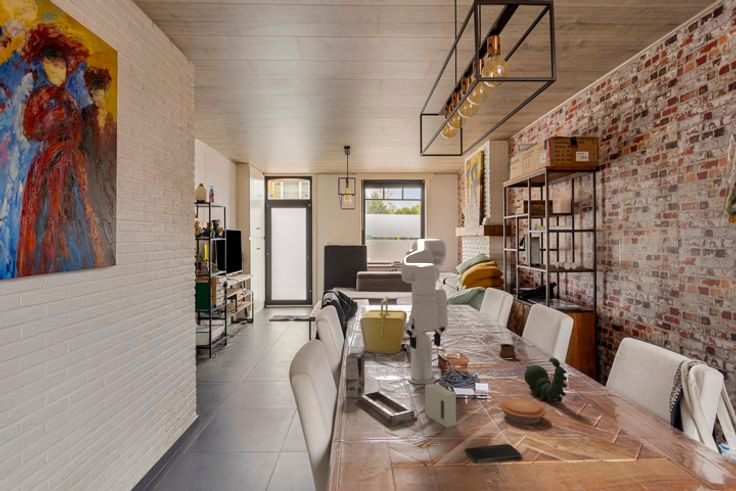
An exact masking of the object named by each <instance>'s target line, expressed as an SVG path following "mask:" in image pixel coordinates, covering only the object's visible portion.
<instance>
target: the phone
mask: <svg viewBox="0 0 736 491" xmlns="http://www.w3.org/2000/svg"><path fill="white" fill-rule="evenodd" d="M464 453H465V455H466V456H468V458H469V459H470V460H471V461H472V462H473V463H474V464H489V463H497V462H498V463H500V462H507V461H508V462H509V461H515V460H517V461H518V460H522V459H523V454H522V453H521V452H519V450H517V449H516V448H515V447H514V446H513V445H511V444H509V443H504V444H502V443H501V444H495V445H494V444H493V445H483V446H473V447H466V448H464Z"/></svg>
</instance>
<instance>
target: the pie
mask: <svg viewBox="0 0 736 491" xmlns="http://www.w3.org/2000/svg"><path fill="white" fill-rule="evenodd" d="M499 404H500V405H499V407H500V409H501V411H502V412H503V414H504V415H505V417H506V418H507V419H508V420H509V421H511V422H513V423H517V424H522V425H534V424H538V423H539V422H540V421H541V419H542V417H543V416H545V415H546V414H547V409H546V408H545V407H544V406H543V405H541V404H539V403H537V402H536V401H533V400H530V399H529V400H528V399H524V398H523V399H522V398H511V399H507V400H505V401H502V402H501V403H499Z"/></svg>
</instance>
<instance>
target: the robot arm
mask: <svg viewBox="0 0 736 491" xmlns="http://www.w3.org/2000/svg"><path fill="white" fill-rule="evenodd" d="M412 243H413V244H412V246H411V249H409V250H408V251H406V253H405V257H404V258H403V259H402V263H401V269H400V270H401V271H400V272H401V278H402V281H403V282H405V283H406V284H411V302H412V305H411V310H410V314H409V315H408V321H406V323H405V324H404V325H403V327H404V329H405V331H404V333H406V334H407V335H408V336H409V346H410V374H409V375H408V376H407V381H408V382H409V383H412V384H415V385H428V384H432V383H434V384H435V382H436V377H435V375H440V374H441V370H440V369H434V368H433V345H434V346H436V347H440V346H441V341H442V340H441V338H442V336H441V335H443V333H445V332H446V331H447V330H448V325H449V324H448V323H449V319H448V316H449V315H448V314H449V313H448V296H447V292H446V290H445V289H444V288H442V287H437V285H436V283H437V281H438V280H439V279H440V275H441V274H440V273H441V272H440V268H441V267H443V266H444V263H445V260H446V255H447V247H446V246H447V245H446V243H445V241H443V239H441V238H440V239H439V238H422V239H421V238H420V239H417V240H415V241H414V242H412ZM427 333H434V334H433V342H432V339H431V338H430V336H429V335H428V334H427Z"/></svg>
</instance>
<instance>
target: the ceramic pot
mask: <svg viewBox="0 0 736 491" xmlns="http://www.w3.org/2000/svg"><path fill="white" fill-rule="evenodd" d="M499 347H500V350H499V352H498V354H499V356H501V357H503V358H515V359H516V356H517V354H516V351H515V348H516V346H515V345H514V344H511V343H501V344H500V345H499ZM501 357H500V358H501ZM503 358H502V359H503Z"/></svg>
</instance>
